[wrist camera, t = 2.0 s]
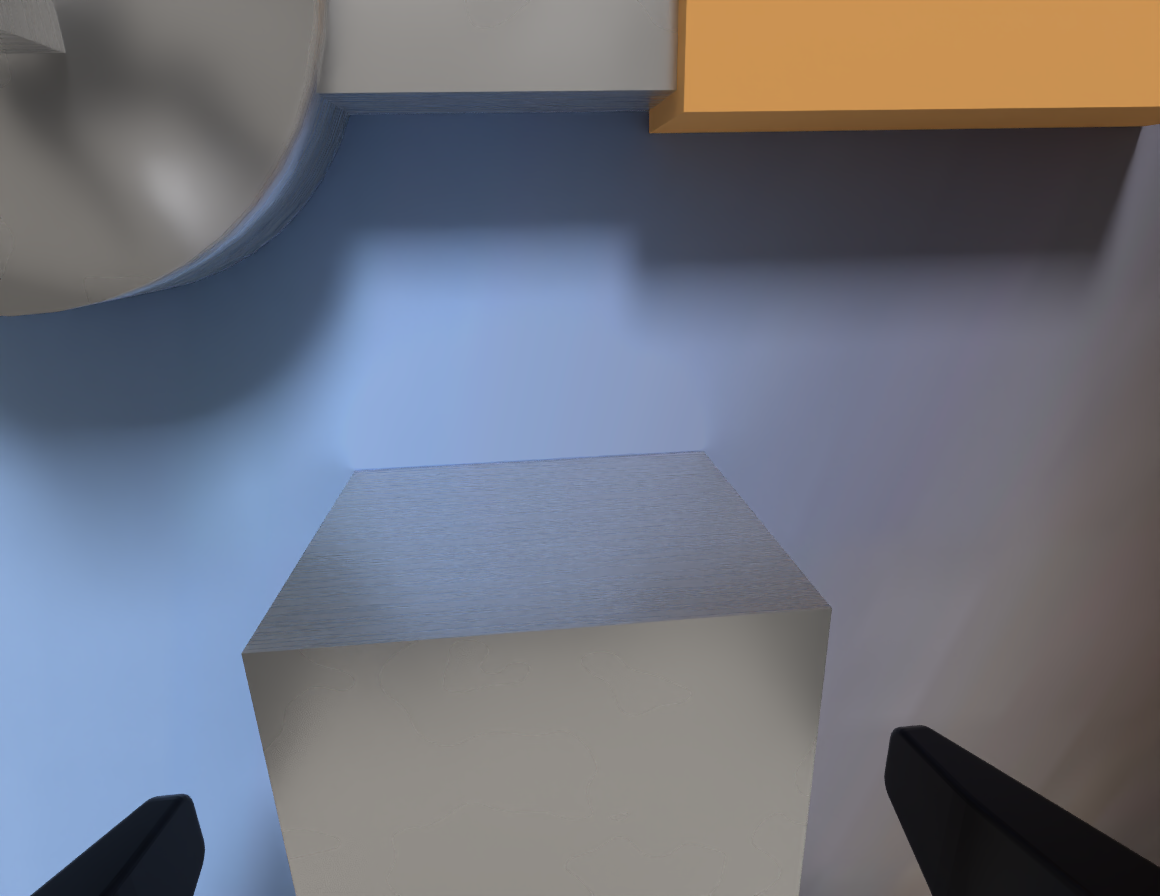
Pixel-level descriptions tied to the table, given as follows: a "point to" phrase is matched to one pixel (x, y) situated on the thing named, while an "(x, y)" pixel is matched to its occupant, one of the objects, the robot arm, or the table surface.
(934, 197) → the table surface
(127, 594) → the table surface
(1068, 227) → the table surface
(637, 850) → the brushed metal cube
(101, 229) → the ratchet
